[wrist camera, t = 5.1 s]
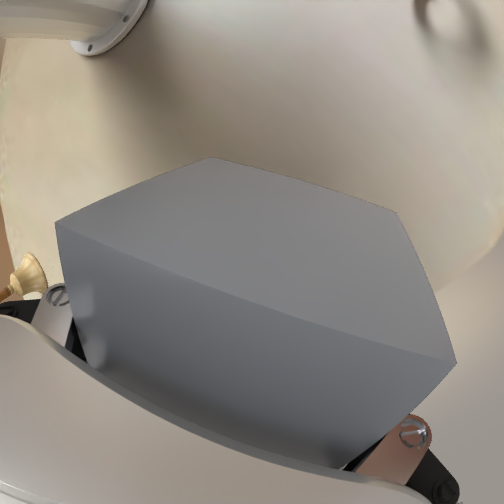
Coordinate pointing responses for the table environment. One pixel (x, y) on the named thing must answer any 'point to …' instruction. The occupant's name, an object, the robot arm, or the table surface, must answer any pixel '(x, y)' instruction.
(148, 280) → the grey cube
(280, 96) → the table surface
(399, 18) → the table surface
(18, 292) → the hand bell
